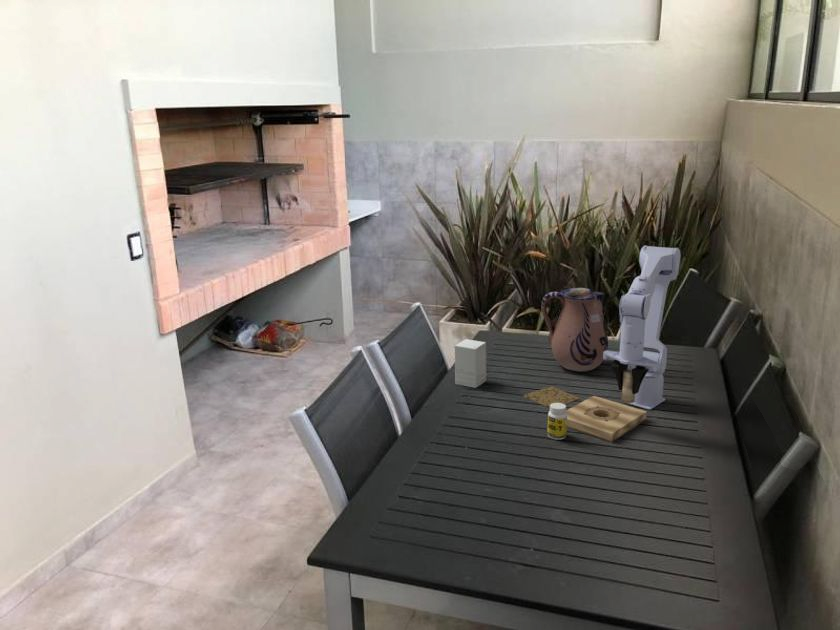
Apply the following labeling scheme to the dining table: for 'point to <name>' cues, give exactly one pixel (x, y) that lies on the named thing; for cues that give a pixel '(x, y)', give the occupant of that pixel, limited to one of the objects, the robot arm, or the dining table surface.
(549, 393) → the cookie
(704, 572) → the dining table surface
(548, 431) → the supplement bottle
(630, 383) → the dowel
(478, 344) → the supplement box
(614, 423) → the bore board
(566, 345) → the ceramic pitcher
